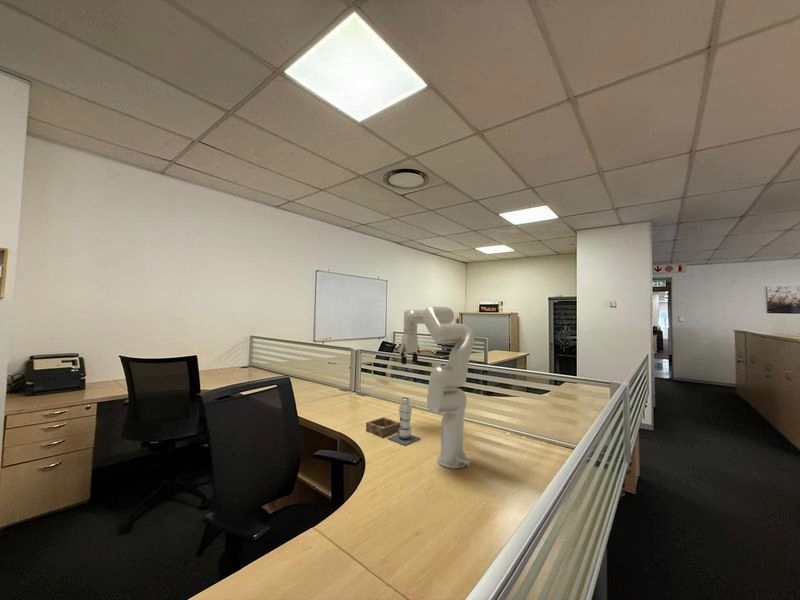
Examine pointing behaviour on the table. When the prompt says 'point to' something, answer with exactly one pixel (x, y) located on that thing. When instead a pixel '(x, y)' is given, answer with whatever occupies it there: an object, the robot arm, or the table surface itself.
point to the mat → (403, 441)
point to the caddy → (378, 424)
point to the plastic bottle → (405, 419)
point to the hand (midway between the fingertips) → (409, 363)
